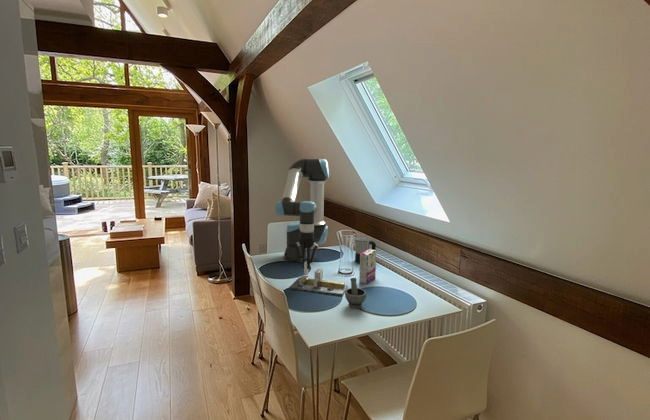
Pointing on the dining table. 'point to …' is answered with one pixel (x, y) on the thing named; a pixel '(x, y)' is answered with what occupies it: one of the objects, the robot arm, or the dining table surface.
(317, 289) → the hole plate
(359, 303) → the mortar and pestle
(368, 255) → the candy bar box
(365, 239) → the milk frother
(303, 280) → the beam
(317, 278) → the block
